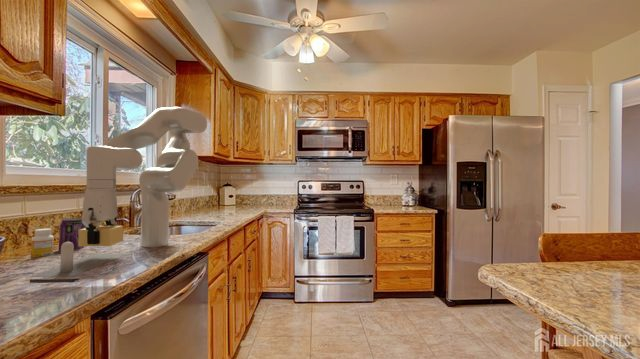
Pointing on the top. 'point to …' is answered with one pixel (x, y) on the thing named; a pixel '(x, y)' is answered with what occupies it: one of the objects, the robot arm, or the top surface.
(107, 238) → the tan hollow block
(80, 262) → the keeper board
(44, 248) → the supplement bottle
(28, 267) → the top surface
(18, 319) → the top surface
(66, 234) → the beverage can
